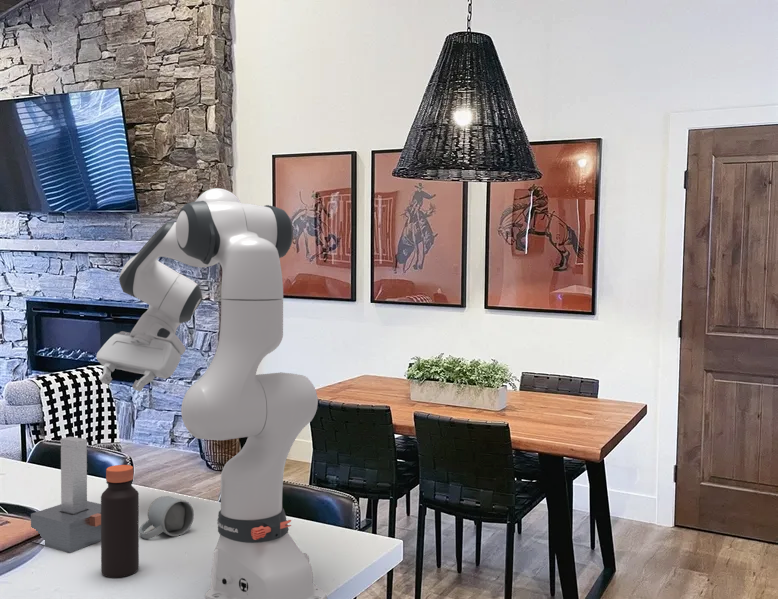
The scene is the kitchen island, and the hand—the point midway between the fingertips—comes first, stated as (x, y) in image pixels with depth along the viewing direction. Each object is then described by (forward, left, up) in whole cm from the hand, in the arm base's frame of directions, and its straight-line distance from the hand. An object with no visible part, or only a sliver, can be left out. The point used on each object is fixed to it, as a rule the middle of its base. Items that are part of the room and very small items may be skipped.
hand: (119, 385), depth 173 cm
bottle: (-25, +12, -32) cm, 42 cm away
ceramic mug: (-12, -4, -32) cm, 34 cm away
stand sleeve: (-2, +11, -31) cm, 33 cm away
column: (-2, +11, -31) cm, 33 cm away
